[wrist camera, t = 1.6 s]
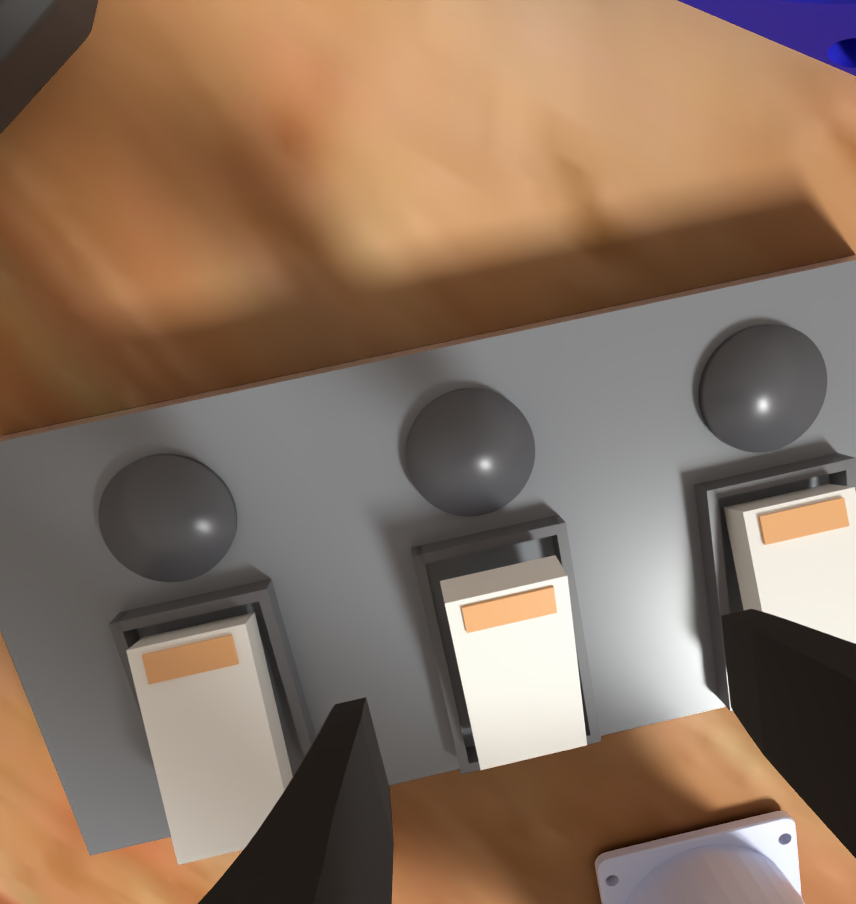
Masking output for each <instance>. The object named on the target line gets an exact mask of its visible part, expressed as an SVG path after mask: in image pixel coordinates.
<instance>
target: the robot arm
mask: <svg viewBox="0 0 856 904" xmlns="http://www.w3.org/2000/svg"><path fill="white" fill-rule="evenodd" d="M721 619H722V629H723V638H724V647H725V657H726V666H727V676H728V685H729V695H730V704H731V708H732V710H733V711H734V713H735V714H736V716H737V717H738V719H739V720H740V722H741V723H742V725H743V726H744V728H745V729H746V731H747V732H748V734H749V735H750V737H751V738H752V739H753V741H754V742H755V743H756V745H757V746H758V748H759V749H760V750H761V752H762V753H763V755H764V756H765V757H766V758H767V759H768V760H769V762H770V763H771V764H772V765H773V766H774V767H775V769H776V770H777V771H778V772H779V773H780V774H781V775H782V777H783V778H784V779H785V780H786V781H787V782H788V783H789V784H790V786H791V787H792V788H793V789H794V790H795V791H796V792H797V794H798V795H799V796H800V797H801V798H802V799H803V800H804V801H805V802H806V804H807V805H808V806H809V807H810V808H811V809H812V810H813V811H814V812H815V814H816V815H817V816H818V817H819V818H820V819H821V820H822V821H823V822H824V824H825V825H826V826H827V827H828V828H829V829H830V830H831V831H832V832H833V834H834V835H835V836H836V837H837V838H838V839H839V840H840V841H841V843H842V844H843V845H844V846H845V847H846V848H847V849H848V850H849V851H850V853H851V854H852V855H853V856H854V857H855V858H856V644H855V643H852V642H849V641H846V640H844V639H841V638H838V637H835V636H832V635H829V634H827V633H824V632H821V631H818V630H815V629H812V628H810V627H807V626H804V625H801V624H798V623H795V622H793V621H790V620H787V619H784V618H781V617H778V616H775V615H772V614H769V613H765V612H762V611H758V610H755V609H748V610H744V611H739V612H735V613H731V614H726V615H722V616H721ZM595 869H596V875H597V881H598V886H599V892H600V898H601V904H806V903H805V901H804V900H803V899H802V896H801V884H800V872H799V860H798V848H797V836H796V825H795V822H794V820H793V819H792V818H791V816H790V815H789V814H788V813H787V812H785V811H774V812H770V813H766V814H762V815H758V816H754V817H749V818H745V819H741V820H737V821H733V822H729V823H724V824H720V825H716V826H712V827H708V828H704V829H700V830H695V831H691V832H687V833H683V834H679V835H675V836H670V837H666V838H662V839H658V840H654V841H650V842H645V843H641V844H637V845H633V846H629V847H625V848H620V849H616V850H612V851H608V852H604V853H602V854H600V855H599V856H598V857H597V859H596V861H595ZM392 875H393V828H392V814H391V801H390V788H389V784H388V780H387V776H386V772H385V768H384V764H383V760H382V757H381V753H380V749H379V745H378V741H377V737H376V733H375V729H374V726H373V722H372V718H371V714H370V710H369V706H368V702H367V698H366V697H365V698H360V699H356V700H351V701H347V702H343V703H338V704H335V705H334V706H333V708H332V709H331V711H330V713H329V714H328V716H327V718H326V720H325V722H324V723H323V725H322V727H321V729H320V731H319V733H318V734H317V736H316V738H315V740H314V742H313V743H312V745H311V747H310V749H309V750H308V752H307V754H306V756H305V757H304V759H303V761H302V762H301V764H300V766H299V767H298V769H297V771H296V772H295V774H294V776H293V777H292V779H291V781H290V782H289V784H288V786H287V787H286V789H285V790H284V792H283V794H282V795H281V797H280V798H279V800H278V801H277V803H276V804H275V806H274V807H273V809H272V810H271V812H270V813H269V815H268V816H267V817H266V819H265V820H264V822H263V823H262V825H261V826H260V828H259V829H258V831H257V832H256V834H255V835H254V836H253V838H252V839H251V840H250V842H249V843H248V844H247V846H246V847H245V849H244V850H243V851H242V852H241V854H240V855H239V856H238V857H237V859H236V860H235V861H234V862H233V864H232V865H231V866H230V867H229V868H228V870H227V871H226V872H225V873H224V875H223V876H222V877H221V878H220V879H219V881H218V882H217V883H216V884H215V885H214V886H213V888H212V889H211V890H210V891H209V892H208V893H207V894H206V895H205V896H204V897H203V899H202V900H201V901H200V902H199V903H198V904H391V903H392ZM611 875H613V876H611ZM609 876H611V877H609Z"/></svg>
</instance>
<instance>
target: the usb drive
mask: <svg viewBox="0 0 856 904" xmlns="http://www.w3.org/2000/svg"><path fill="white" fill-rule="evenodd" d="M97 3H98V0H0V134H1V133H2V132H3V130H4V129H5V128H6V127H7V126H8V125H9V124H10V123H11V122H12V121H13V119H14V118H15V117H16V116H17V115H18V114H19V113H20V112H21V111H22V109H23V108H24V107H25V106H26V105H27V104H28V103H29V102H30V101H31V100H32V98H33V97H34V96H35V95H36V94H37V93H38V92H39V91H40V90H41V88H42V87H43V86H44V85H45V84H46V83H47V82H48V81H49V80H50V79H51V77H52V76H53V75H54V74H55V73H56V72H57V71H58V70H59V69H60V67H61V66H62V65H63V64H64V63H65V62H66V61H67V60H68V59H69V58H70V56H71V55H72V54H73V53H74V52H75V51H76V50H77V49H78V48H79V46H80V45H81V44H82V43H83V42H84V41H85V39H86V38H87V37H88V35H89V34H90V32H91V29H92V25H93V21H94V17H95V12H96V8H97Z"/></svg>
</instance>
